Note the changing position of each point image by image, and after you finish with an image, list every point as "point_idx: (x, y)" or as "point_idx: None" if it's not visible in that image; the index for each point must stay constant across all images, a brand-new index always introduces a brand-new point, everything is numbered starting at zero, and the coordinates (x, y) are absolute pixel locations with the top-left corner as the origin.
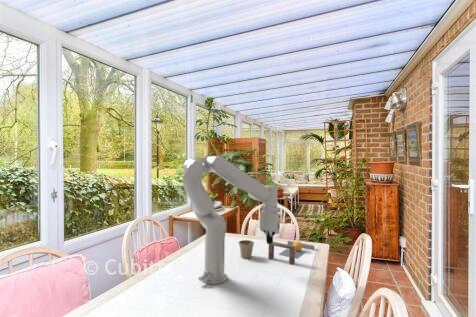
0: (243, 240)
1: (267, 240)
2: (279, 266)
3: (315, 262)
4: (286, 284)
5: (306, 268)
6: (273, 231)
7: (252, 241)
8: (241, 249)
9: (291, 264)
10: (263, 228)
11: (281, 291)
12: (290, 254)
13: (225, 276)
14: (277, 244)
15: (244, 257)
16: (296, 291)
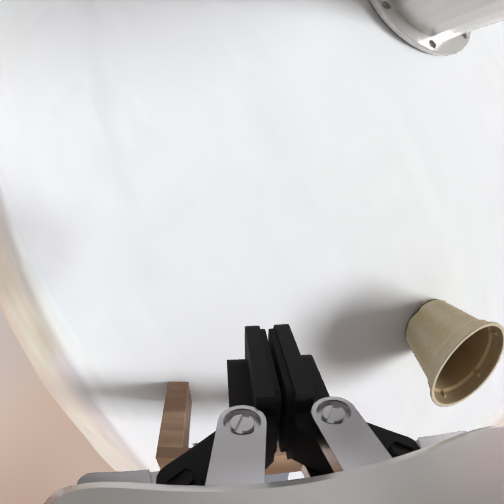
0: (485, 379)
1: (287, 348)
2: (215, 329)
3: (112, 439)
4: (66, 133)
5: (95, 375)
6: (110, 484)
7: (443, 404)
8: (470, 315)
9: (174, 382)
10: (454, 469)
11: (62, 52)
12: (176, 421)
13: (389, 8)
14: (276, 454)
15: (431, 303)
16: (11, 105)
